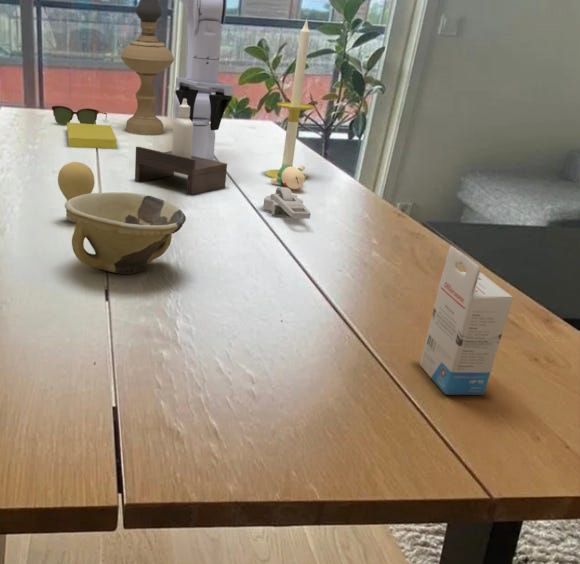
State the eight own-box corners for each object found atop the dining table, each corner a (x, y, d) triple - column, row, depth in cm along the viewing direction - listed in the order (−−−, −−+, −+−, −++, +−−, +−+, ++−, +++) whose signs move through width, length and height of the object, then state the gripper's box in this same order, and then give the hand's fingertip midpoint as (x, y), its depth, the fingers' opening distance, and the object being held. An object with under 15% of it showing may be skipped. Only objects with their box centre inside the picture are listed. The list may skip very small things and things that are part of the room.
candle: (259, 176, 181) (278, 16, 163) (271, 169, 189) (290, 15, 171) (300, 182, 178) (324, 20, 160) (311, 174, 186) (334, 19, 168)
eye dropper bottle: (191, 158, 168) (195, 97, 162) (190, 163, 164) (194, 101, 157) (171, 156, 168) (175, 96, 162) (170, 161, 164) (173, 99, 157)
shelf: (169, 174, 177) (171, 141, 173) (225, 187, 169) (228, 153, 165) (134, 180, 169) (135, 146, 165) (190, 195, 161) (193, 159, 157)
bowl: (93, 294, 108) (93, 225, 103) (49, 255, 121) (47, 193, 116) (202, 281, 115) (207, 216, 110) (150, 247, 128) (152, 187, 123)
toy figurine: (270, 190, 179) (283, 199, 168) (264, 171, 176) (277, 179, 166) (303, 175, 178) (318, 183, 168) (297, 156, 176) (312, 163, 165)
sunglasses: (50, 123, 224) (50, 105, 222) (65, 121, 237) (65, 103, 235) (98, 128, 223) (99, 109, 220) (110, 125, 236) (111, 107, 233)
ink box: (485, 396, 88) (525, 269, 79) (443, 396, 87) (479, 268, 79) (456, 365, 95) (490, 245, 87) (417, 364, 94) (448, 243, 86)
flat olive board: (116, 148, 199) (110, 132, 219) (116, 139, 198) (110, 124, 217) (69, 146, 197) (67, 130, 217) (69, 137, 196) (66, 122, 216)
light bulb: (100, 220, 140) (101, 162, 135) (82, 227, 135) (82, 167, 130) (70, 214, 142) (69, 157, 137) (52, 221, 137) (50, 162, 132)
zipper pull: (279, 229, 142) (282, 206, 140) (258, 205, 157) (261, 183, 155) (320, 231, 143) (323, 207, 141) (296, 206, 158) (299, 184, 156)
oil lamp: (117, 125, 229) (120, -35, 207) (167, 128, 231) (175, -31, 209) (120, 134, 216) (123, -36, 194) (172, 137, 218) (181, -31, 196)
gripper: (168, 54, 165) (164, 123, 172) (221, 62, 157) (215, 133, 165) (188, 54, 170) (184, 121, 177) (241, 61, 162) (235, 131, 170)
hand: (201, 127), depth 171 cm, fingers open, 7 cm apart
